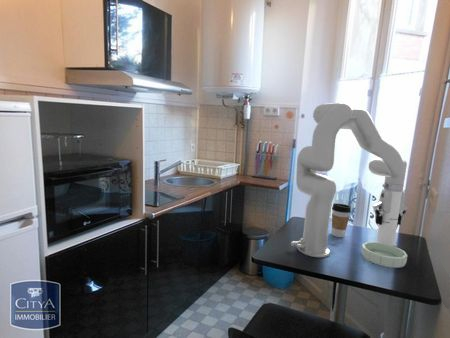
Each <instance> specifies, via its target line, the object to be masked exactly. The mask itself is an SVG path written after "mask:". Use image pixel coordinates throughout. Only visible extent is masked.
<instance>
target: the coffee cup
mask: <svg viewBox="0 0 450 338" xmlns="http://www.w3.org/2000/svg"><path fill="white" fill-rule="evenodd" d="M331 211H332V213H331V235H332V236H334V237H337V238H344V237H345V236H346V235H345V234H346V231H347V228H348V224H349V219H350V213H351V206H350V205H348V204H343V203H334V202H333V203H332V206H331Z"/></svg>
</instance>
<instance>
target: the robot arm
mask: <svg viewBox="0 0 450 338" xmlns="http://www.w3.org/2000/svg"><path fill="white" fill-rule="evenodd" d="M312 114H313V115H312V116H313V119H314V122H316V126H315V127H314V130H313V134H312V140H311V145H308V146H307V145H306V146H305V147H303V148H301V150H300V151H299V152H298V155H297V158H296V159H297V161H296V176H295V177H296V182H295V183H296V186H297V189H298V190H299V191H300V192H301V193H302V194H304V195H307V196H309V197H310V198H309V200H308V202H307V203H306V204H307V205H306V207H305V214H304V224H303V233H302V237H301V238H300V239H299V240H297V241H296V240H292V241H291V242H290V245H291V247H296V248H297V250H298V251H299V252H300V253H301V254H304V255H305V256H309V257H312V258H326V257H328V256H330V253H331V250H330V249H329V248H328V247H327V245H328V238H329V237H328V235H329V229H330V219H331V214H332V213H331V212H332V207H333V203H334V198H335V196H336V192H337V185H336V182H335V181H334V180H333V179H332V178H331V177H329V176H327V175H323V174H322V173H327V172H328V173H329V172H330V171H331V170H332V169H333V167H334V164H335V163H334V162H335V150H336V149H335V148H336V138H337V135H338V133H339V131H340V129H342V130H351V132H352V134H353V136H354V137H355V140H356V141H357V143H358V145H359V147H360V148H362V149H363V150H365V151H366V152H367V153H369V154H373V155H374V156H376V158H373V159H372V160H370V162H369V163H368V170H369V171H370V172H371V174H373V175H376V176H380V177H384V183H382V189H381V192H380V196H379V199H378V202H377V203H375V204H373V205H372V209H373V212H374V214H375V215H376V216H375V217H376V218H375V224H377V225H378V226H379V225H382V219H383V216H382V215H383V214H384V213H385V212H386V213H390V210H391V203H392V191H393V192H402V195H401V202H400V208H399V216H398V222H397V226H401V223H402V217H404V215H405V214H406V213H407V210H408V209H409V207H408V205H406V204H405V203H406V202H405V201H406V197H405V196H406V194H405V191H404V185H405V179H406V178H405V177H406V173H407V165H408V164H407V163H408V162H407V161H406V160H404V159H403V158H402V156H401V154H400V152H399V151H398V150H397V149H396V148H395V147H394V146H393V145H392V144H390V143H389V142H388V141H387V140H386V139H384V138H383V137H381V135H380V133H379V131H378V129H377V127H376V125H375V124H374V120H373V119H372V116H371V115H370V113H369V112H368V111H367V109H364V108H353V107H352V106H351V105H350V104H348V103H346V102H334V103H324V104H323V103H321V104H320V105H317V106H316V107H315V109H314V110H313V113H312ZM317 172H319V173H317ZM320 173H321V174H320Z"/></svg>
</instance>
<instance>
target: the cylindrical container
mask: <svg viewBox="0 0 450 338" xmlns="http://www.w3.org/2000/svg"><path fill="white" fill-rule="evenodd" d="M401 195H402V192H393V191H392V203H391V210H390V213H386V212H385V213H384V214H383V215H382V216H383V219H382V225H379V224H378V228H377V235H376V240H375V242H379V243H385V244H389V245H392V246H394V245H395V243H396V242H395V241H396V233H397V227H398V224H397V222H398V216H399V208H400V202H401Z"/></svg>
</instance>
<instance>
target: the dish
mask: <svg viewBox="0 0 450 338" xmlns="http://www.w3.org/2000/svg"><path fill="white" fill-rule="evenodd" d="M361 256H362V258H364V259H365V260H366V261H368V262H370V263H372V264H374V265H378V266H381V267H386V268H391V269H393V268H394V269H398V268H399V269H400V268H403V267H405V266H406V264H407V261H408V253H406V251H405V250H403V249H401V248H399V247H397V246H392V245H389V244H385V243H379V242H376V241H366V242H365V243H362V245H361Z"/></svg>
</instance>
